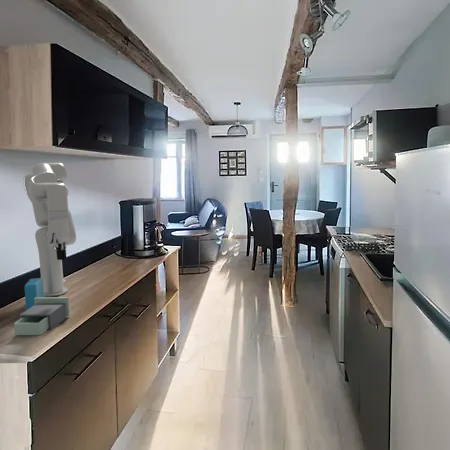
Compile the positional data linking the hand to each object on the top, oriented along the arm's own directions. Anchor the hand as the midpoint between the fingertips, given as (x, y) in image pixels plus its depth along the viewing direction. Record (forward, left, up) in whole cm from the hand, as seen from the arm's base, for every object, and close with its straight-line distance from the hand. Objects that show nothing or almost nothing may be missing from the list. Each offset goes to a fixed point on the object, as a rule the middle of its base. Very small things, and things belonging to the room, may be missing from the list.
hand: (61, 259), depth 159 cm
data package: (-1, -13, -22) cm, 25 cm away
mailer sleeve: (+16, -1, -21) cm, 27 cm away
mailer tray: (+18, -1, -21) cm, 28 cm away
